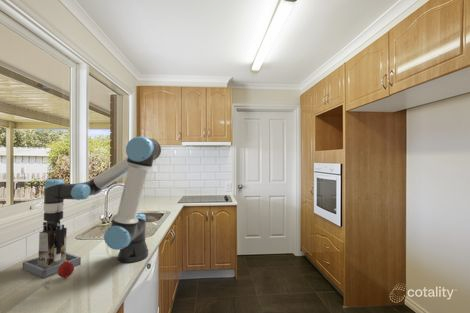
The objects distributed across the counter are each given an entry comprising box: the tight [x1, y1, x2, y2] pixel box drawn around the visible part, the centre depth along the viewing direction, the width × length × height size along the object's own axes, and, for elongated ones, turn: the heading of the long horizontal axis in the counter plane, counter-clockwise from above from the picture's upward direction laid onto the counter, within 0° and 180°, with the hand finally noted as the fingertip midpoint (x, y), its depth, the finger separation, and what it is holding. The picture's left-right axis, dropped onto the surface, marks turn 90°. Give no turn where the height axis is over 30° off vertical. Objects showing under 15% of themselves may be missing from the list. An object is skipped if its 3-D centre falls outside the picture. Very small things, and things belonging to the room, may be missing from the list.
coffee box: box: [37, 227, 68, 268], centre depth 114 cm, size 9×6×16 cm
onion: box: [57, 260, 75, 279], centre depth 104 cm, size 6×6×8 cm
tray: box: [22, 252, 82, 280], centre depth 114 cm, size 18×16×4 cm
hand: (52, 258), depth 114 cm, fingers closed on coffee box, 7 cm apart
